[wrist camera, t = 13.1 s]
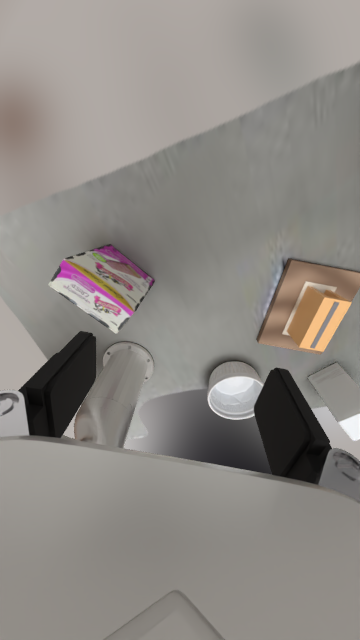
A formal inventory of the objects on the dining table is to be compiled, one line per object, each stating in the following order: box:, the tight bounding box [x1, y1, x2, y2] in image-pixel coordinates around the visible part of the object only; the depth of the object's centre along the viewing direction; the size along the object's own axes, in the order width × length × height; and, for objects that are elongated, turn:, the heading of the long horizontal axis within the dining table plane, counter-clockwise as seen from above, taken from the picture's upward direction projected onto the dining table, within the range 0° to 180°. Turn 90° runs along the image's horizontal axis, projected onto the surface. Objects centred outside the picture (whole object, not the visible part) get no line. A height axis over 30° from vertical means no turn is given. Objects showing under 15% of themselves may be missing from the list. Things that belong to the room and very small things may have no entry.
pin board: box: [257, 259, 360, 355], centre depth 42 cm, size 18×14×4 cm
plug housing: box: [287, 286, 352, 352], centre depth 40 cm, size 10×5×6 cm, turn 170°
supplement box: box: [308, 362, 360, 441], centre depth 46 cm, size 7×7×13 cm
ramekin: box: [207, 361, 264, 419], centre depth 51 cm, size 13×13×7 cm
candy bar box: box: [48, 244, 155, 334], centre depth 36 cm, size 11×5×16 cm, turn 50°
